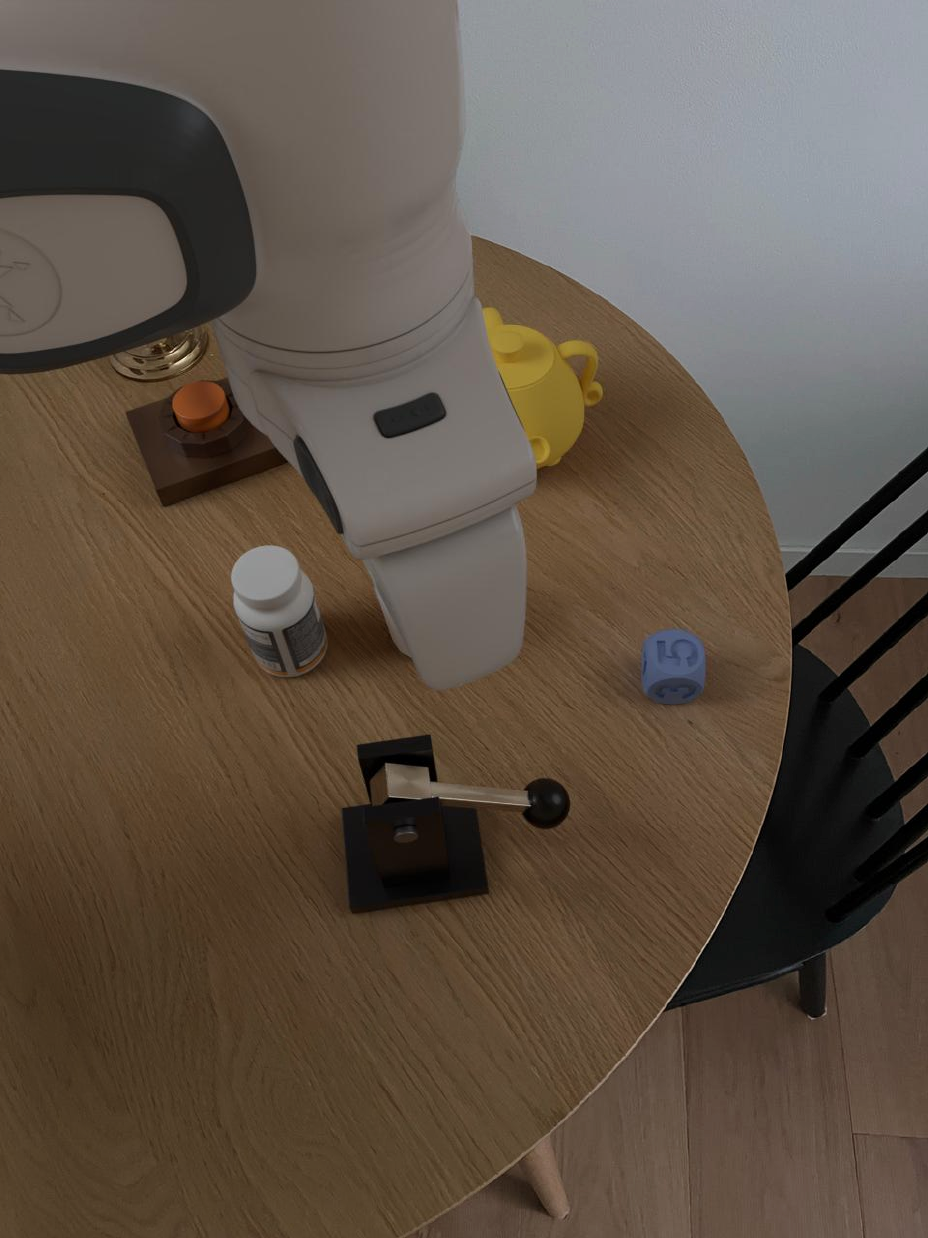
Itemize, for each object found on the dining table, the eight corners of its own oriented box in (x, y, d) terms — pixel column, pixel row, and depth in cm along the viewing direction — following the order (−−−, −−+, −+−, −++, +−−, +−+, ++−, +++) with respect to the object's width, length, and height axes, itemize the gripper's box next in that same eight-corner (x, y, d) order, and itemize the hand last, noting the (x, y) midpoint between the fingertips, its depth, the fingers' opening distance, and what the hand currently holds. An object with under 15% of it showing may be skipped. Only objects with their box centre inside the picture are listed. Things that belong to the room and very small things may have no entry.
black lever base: (473, 796, 73) (467, 713, 63) (489, 894, 69) (484, 822, 59) (343, 814, 73) (316, 734, 63) (351, 914, 69) (323, 845, 59)
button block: (163, 507, 89) (149, 475, 85) (132, 429, 94) (118, 396, 90) (297, 458, 91) (289, 425, 88) (260, 385, 96) (251, 351, 93)
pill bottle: (318, 608, 82) (296, 528, 74) (337, 668, 79) (316, 591, 71) (246, 629, 81) (216, 550, 73) (262, 690, 78) (232, 615, 70)
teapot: (391, 465, 90) (377, 367, 81) (474, 367, 96) (469, 265, 87) (539, 531, 86) (542, 435, 76) (616, 423, 92) (627, 322, 82)
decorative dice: (640, 657, 78) (645, 627, 75) (694, 658, 78) (702, 628, 75) (643, 704, 76) (649, 676, 73) (699, 705, 76) (707, 677, 73)
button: (186, 440, 88) (180, 425, 86) (171, 406, 90) (165, 391, 89) (236, 422, 89) (231, 407, 87) (220, 389, 91) (215, 374, 90)
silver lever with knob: (548, 793, 70) (574, 771, 67) (558, 839, 68) (584, 818, 66) (366, 776, 64) (387, 751, 62) (370, 825, 62) (392, 802, 60)
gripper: (177, 192, 41) (252, 438, 53) (369, 574, 31) (411, 778, 42) (329, 147, 42) (370, 397, 54) (564, 499, 32) (553, 717, 43)
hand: (389, 567), depth 48 cm, fingers closed
